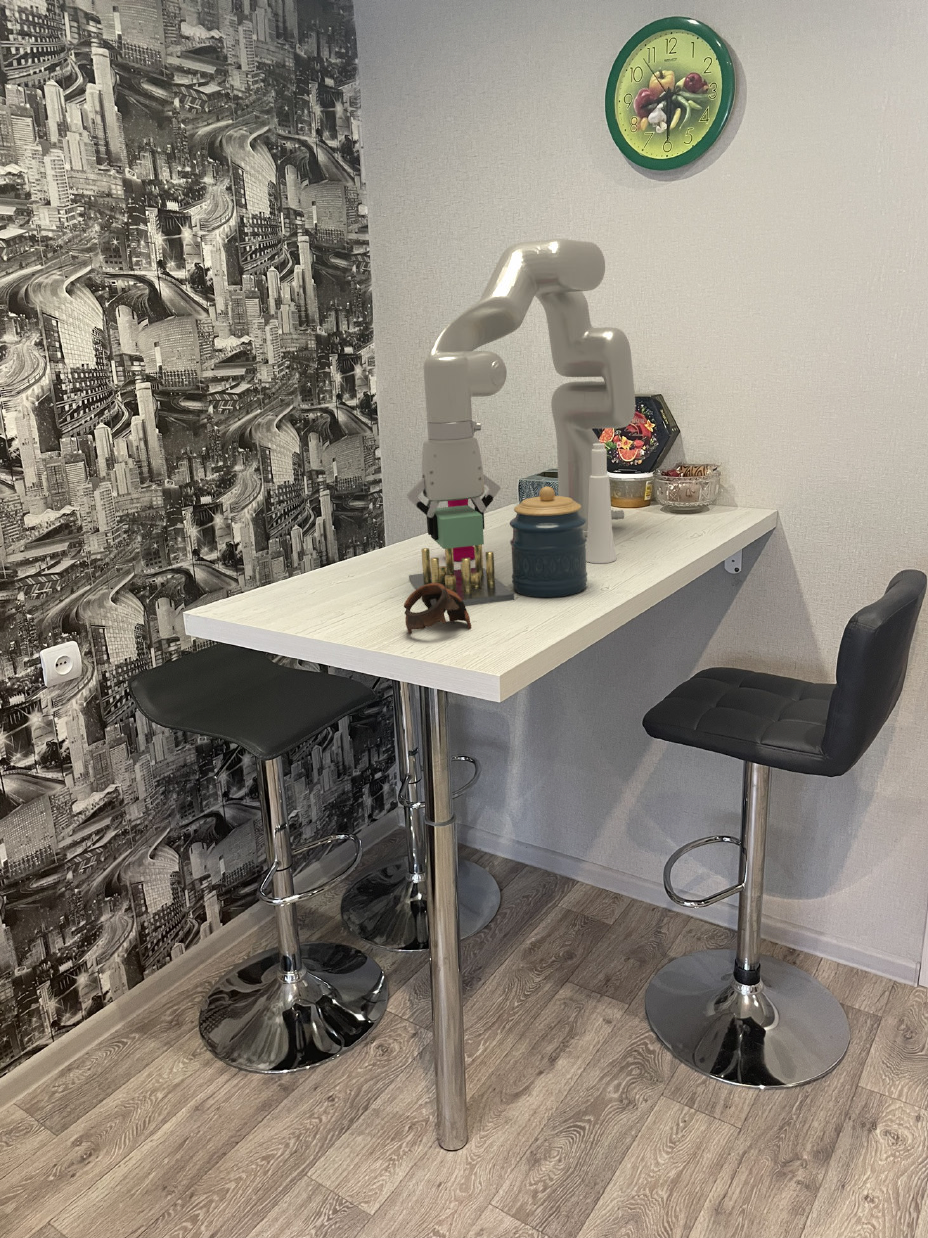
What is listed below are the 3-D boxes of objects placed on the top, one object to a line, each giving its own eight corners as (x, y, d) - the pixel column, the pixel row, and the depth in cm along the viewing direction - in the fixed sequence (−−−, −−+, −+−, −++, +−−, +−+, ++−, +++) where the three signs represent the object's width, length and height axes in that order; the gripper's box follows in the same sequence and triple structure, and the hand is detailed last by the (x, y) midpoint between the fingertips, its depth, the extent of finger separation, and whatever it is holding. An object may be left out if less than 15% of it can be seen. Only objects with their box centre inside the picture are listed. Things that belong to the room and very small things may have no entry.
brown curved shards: (482, 636, 140) (458, 597, 135) (428, 667, 140) (402, 629, 136) (463, 597, 150) (440, 559, 145) (412, 626, 150) (387, 589, 146)
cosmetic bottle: (621, 561, 176) (620, 444, 170) (591, 565, 175) (589, 446, 168) (608, 554, 182) (607, 440, 175) (579, 558, 181) (577, 443, 174)
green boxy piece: (469, 532, 166) (467, 505, 165) (483, 544, 157) (482, 515, 156) (430, 537, 165) (429, 509, 163) (443, 548, 156) (441, 519, 154)
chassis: (482, 572, 174) (481, 535, 172) (514, 599, 156) (512, 558, 154) (409, 580, 171) (406, 543, 169) (432, 609, 153) (429, 568, 151)
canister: (541, 603, 153) (538, 496, 148) (497, 587, 164) (493, 487, 158) (603, 588, 159) (602, 485, 154) (556, 574, 170) (554, 477, 165)
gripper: (494, 425, 161) (498, 527, 166) (395, 434, 157) (403, 537, 163) (506, 429, 154) (511, 535, 159) (403, 438, 150) (411, 546, 156)
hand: (456, 535), depth 161 cm, fingers closed on green boxy piece, 7 cm apart
